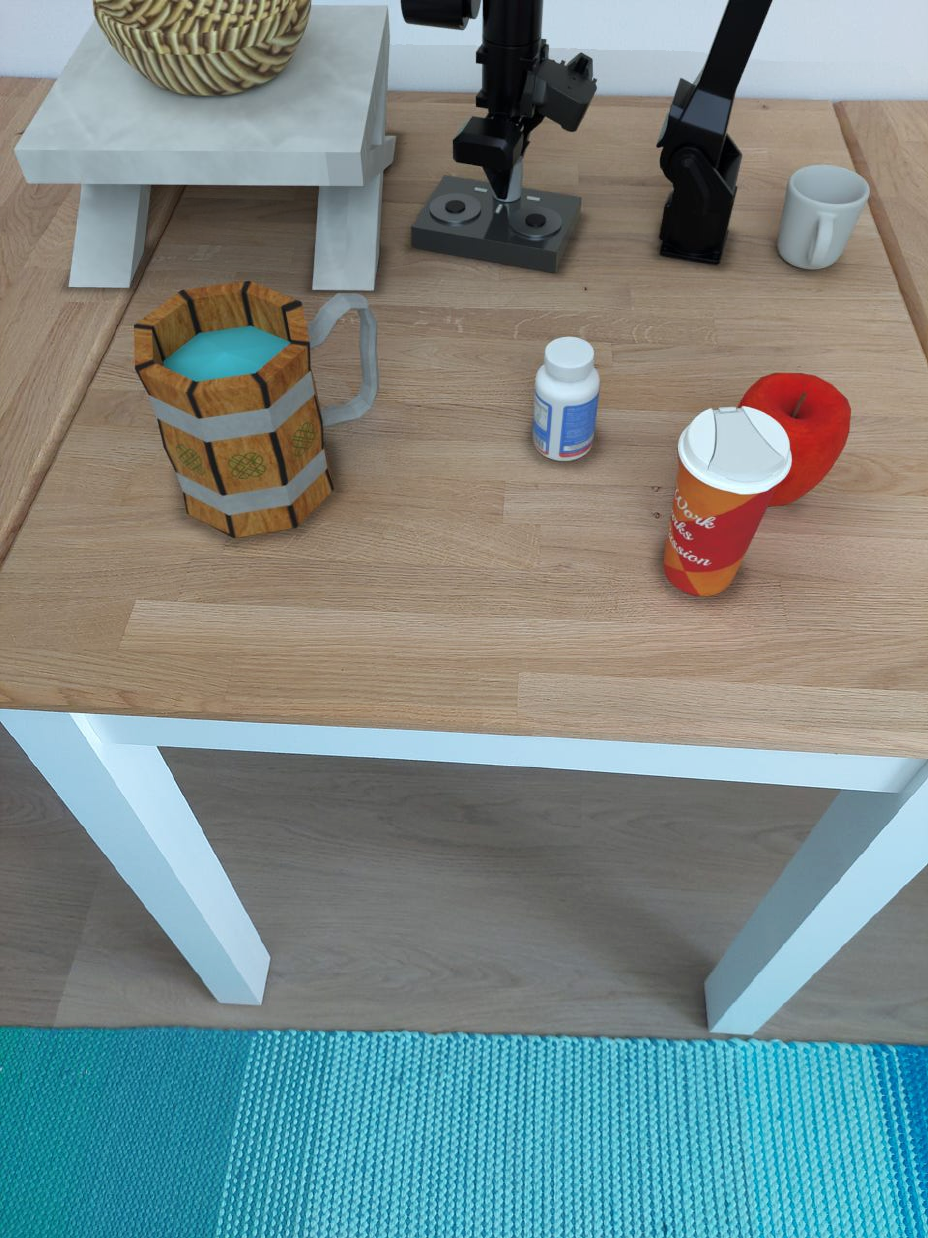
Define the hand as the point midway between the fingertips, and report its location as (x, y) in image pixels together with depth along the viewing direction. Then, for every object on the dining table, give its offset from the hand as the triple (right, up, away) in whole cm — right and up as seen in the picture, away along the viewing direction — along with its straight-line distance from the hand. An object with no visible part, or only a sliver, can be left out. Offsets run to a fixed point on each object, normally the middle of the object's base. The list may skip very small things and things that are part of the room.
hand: (507, 190), depth 102 cm
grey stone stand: (-30, 0, +4) cm, 30 cm away
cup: (+32, -10, -3) cm, 33 cm away
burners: (-1, -3, -2) cm, 4 cm away
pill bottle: (+4, -31, -19) cm, 37 cm away
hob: (-1, -4, 0) cm, 5 cm away
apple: (+21, -36, -23) cm, 48 cm away
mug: (-20, -34, -20) cm, 44 cm away
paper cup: (+14, -43, -28) cm, 53 cm away
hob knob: (0, 0, 0) cm, 0 cm away
